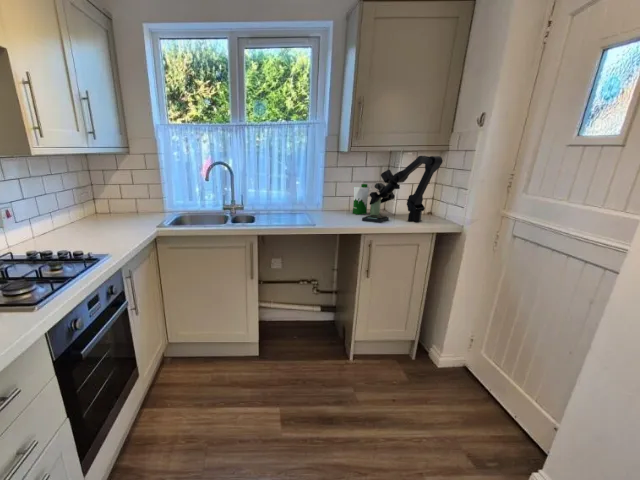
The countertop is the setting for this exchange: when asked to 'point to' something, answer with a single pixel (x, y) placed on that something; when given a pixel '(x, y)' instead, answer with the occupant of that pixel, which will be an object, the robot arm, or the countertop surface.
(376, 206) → the tumbler
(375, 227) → the countertop surface
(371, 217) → the scale
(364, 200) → the milk carton
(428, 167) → the robot arm
